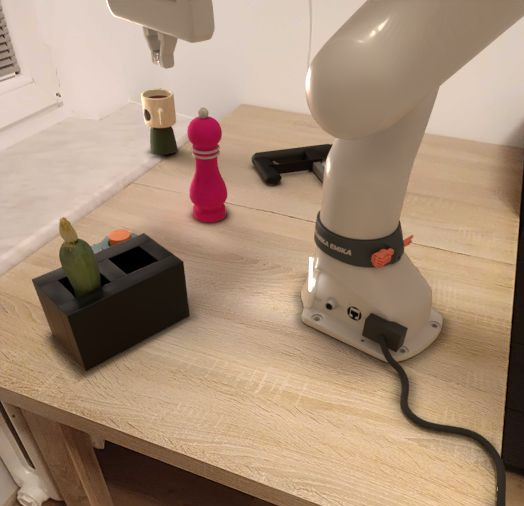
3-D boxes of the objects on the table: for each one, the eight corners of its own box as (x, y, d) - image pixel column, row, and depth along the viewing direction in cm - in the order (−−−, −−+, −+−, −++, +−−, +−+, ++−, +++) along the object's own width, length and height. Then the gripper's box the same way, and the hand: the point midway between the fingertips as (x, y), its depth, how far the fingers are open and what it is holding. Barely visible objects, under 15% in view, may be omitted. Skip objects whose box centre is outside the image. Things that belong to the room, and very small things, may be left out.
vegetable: (90, 325, 75) (52, 202, 61) (118, 326, 74) (88, 203, 60) (81, 346, 71) (40, 221, 57) (111, 347, 71) (77, 222, 57)
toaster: (189, 316, 76) (183, 261, 69) (86, 371, 68) (67, 316, 61) (153, 286, 82) (143, 232, 75) (52, 334, 73) (31, 279, 66)
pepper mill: (222, 226, 95) (218, 117, 81) (186, 221, 96) (175, 113, 82) (232, 207, 100) (229, 102, 86) (197, 203, 101) (188, 98, 87)
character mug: (146, 144, 122) (138, 86, 113) (176, 141, 123) (170, 84, 114) (151, 163, 114) (143, 103, 105) (182, 160, 116) (176, 100, 107)
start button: (136, 244, 84) (134, 235, 83) (117, 252, 82) (115, 243, 81) (124, 235, 86) (123, 226, 84) (106, 243, 84) (104, 234, 83)
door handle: (359, 172, 107) (329, 138, 117) (271, 184, 103) (248, 148, 113) (357, 186, 110) (328, 152, 120) (271, 198, 105) (248, 162, 115)
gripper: (224, -54, 57) (228, 79, 67) (127, -70, 67) (143, 46, 77) (178, -50, 54) (189, 89, 63) (85, -67, 64) (106, 54, 74)
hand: (163, 65), depth 70 cm, fingers closed
